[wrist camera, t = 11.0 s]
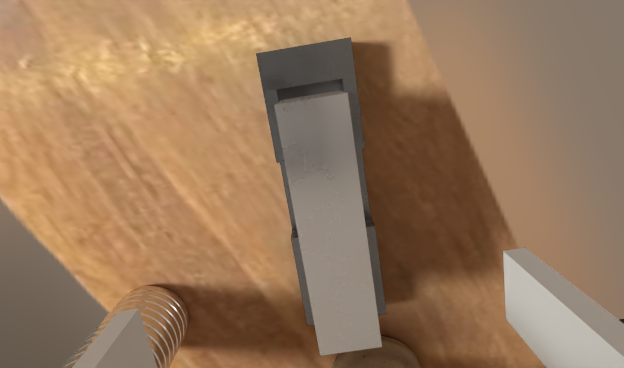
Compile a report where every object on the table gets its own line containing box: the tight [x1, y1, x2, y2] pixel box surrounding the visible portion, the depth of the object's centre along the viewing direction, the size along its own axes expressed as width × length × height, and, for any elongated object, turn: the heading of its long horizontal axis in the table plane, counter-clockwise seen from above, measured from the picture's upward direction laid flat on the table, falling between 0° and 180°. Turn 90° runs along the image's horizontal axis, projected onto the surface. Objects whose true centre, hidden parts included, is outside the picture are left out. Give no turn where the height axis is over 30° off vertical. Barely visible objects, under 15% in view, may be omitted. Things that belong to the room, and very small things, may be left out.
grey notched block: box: [274, 90, 382, 356], centre depth 28 cm, size 16×4×11 cm, turn 9°
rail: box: [256, 37, 386, 325], centre depth 33 cm, size 23×7×3 cm, turn 9°
